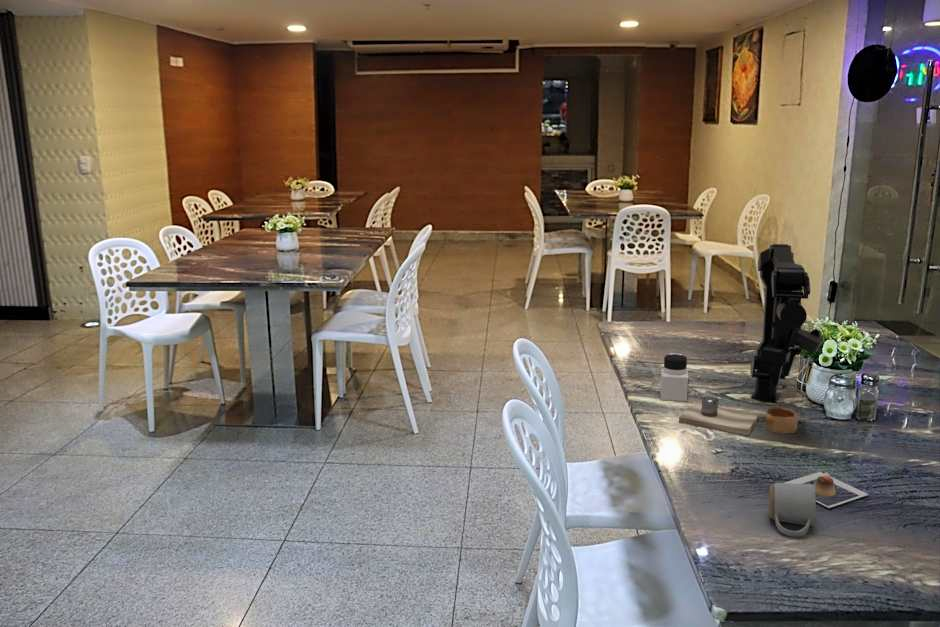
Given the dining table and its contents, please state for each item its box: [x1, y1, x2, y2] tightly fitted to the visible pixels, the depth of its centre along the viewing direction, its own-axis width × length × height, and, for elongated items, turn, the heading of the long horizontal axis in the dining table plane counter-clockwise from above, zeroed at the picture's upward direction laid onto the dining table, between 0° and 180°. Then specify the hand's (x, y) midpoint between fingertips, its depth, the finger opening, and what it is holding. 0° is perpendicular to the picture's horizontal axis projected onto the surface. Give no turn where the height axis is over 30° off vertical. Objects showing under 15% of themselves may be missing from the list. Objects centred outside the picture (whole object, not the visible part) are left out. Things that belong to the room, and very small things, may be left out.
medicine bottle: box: [659, 353, 690, 402], centre depth 218 cm, size 7×7×12 cm
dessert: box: [783, 471, 870, 509], centre depth 164 cm, size 12×12×5 cm
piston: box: [701, 396, 719, 417], centre depth 202 cm, size 4×4×4 cm
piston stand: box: [678, 402, 760, 436], centre depth 202 cm, size 12×17×2 cm
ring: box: [764, 407, 799, 435], centre depth 197 cm, size 7×7×4 cm
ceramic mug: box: [768, 482, 817, 538], centre depth 150 cm, size 11×8×8 cm
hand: (780, 380), depth 194 cm, fingers open, 9 cm apart
